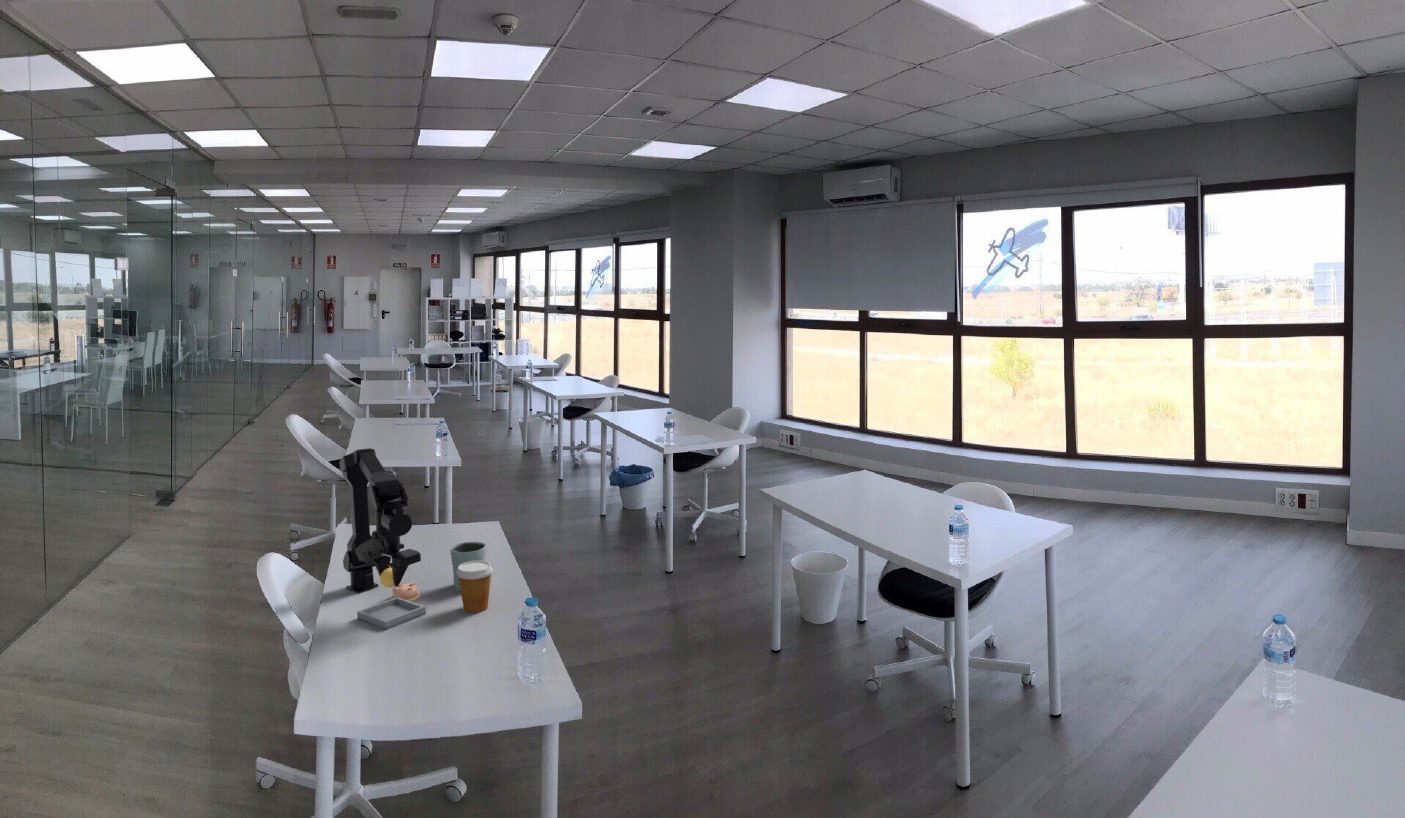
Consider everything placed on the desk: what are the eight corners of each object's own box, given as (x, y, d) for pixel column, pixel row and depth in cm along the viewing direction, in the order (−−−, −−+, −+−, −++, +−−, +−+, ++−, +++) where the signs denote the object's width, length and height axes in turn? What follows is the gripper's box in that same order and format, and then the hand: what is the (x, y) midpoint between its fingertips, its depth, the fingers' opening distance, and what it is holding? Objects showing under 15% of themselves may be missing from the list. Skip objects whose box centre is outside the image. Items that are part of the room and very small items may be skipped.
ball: (376, 587, 195) (375, 569, 194) (393, 581, 199) (392, 563, 199) (388, 591, 192) (387, 573, 192) (405, 585, 197) (404, 567, 196)
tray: (357, 619, 195) (357, 611, 195) (397, 604, 205) (397, 596, 205) (386, 629, 189) (385, 622, 188) (425, 613, 199) (425, 606, 198)
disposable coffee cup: (483, 616, 197) (482, 573, 196) (450, 613, 199) (449, 570, 198) (500, 602, 207) (499, 561, 205) (468, 599, 209) (467, 558, 207)
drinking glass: (459, 595, 212) (457, 554, 210) (446, 584, 220) (444, 545, 218) (492, 587, 218) (491, 547, 217) (479, 577, 226) (478, 539, 225)
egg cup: (385, 599, 208) (384, 587, 208) (408, 590, 215) (407, 578, 214) (402, 605, 204) (401, 592, 204) (425, 596, 211) (425, 584, 210)
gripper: (337, 528, 192) (340, 586, 194) (382, 540, 182) (385, 601, 184) (376, 518, 201) (379, 573, 203) (421, 529, 191) (423, 587, 193)
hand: (390, 583), depth 196 cm, fingers closed on ball, 5 cm apart
